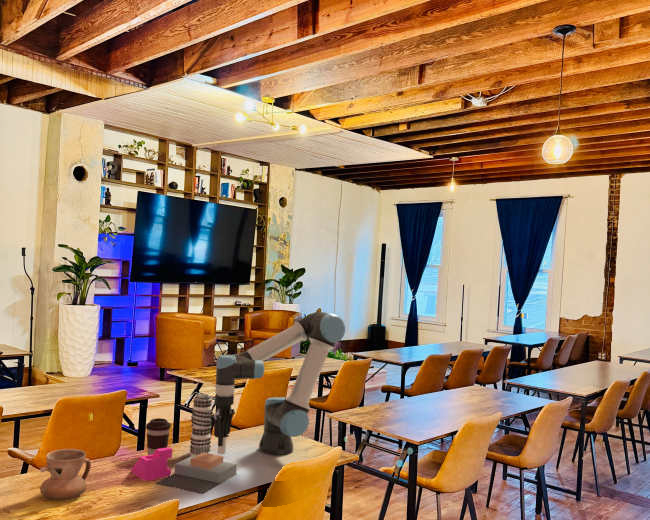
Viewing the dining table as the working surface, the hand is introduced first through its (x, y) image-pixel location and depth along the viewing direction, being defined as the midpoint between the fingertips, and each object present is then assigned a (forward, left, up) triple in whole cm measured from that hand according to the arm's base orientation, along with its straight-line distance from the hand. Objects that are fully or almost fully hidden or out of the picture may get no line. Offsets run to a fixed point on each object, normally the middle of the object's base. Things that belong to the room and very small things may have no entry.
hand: (221, 453), depth 242 cm
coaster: (+10, 0, -1) cm, 10 cm away
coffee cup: (+3, -29, -6) cm, 30 cm away
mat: (+20, 0, -5) cm, 20 cm away
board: (+11, 0, -5) cm, 12 cm away
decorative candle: (-9, -16, -6) cm, 19 cm away
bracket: (+20, -18, -6) cm, 28 cm away
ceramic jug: (+52, -29, -6) cm, 60 cm away
